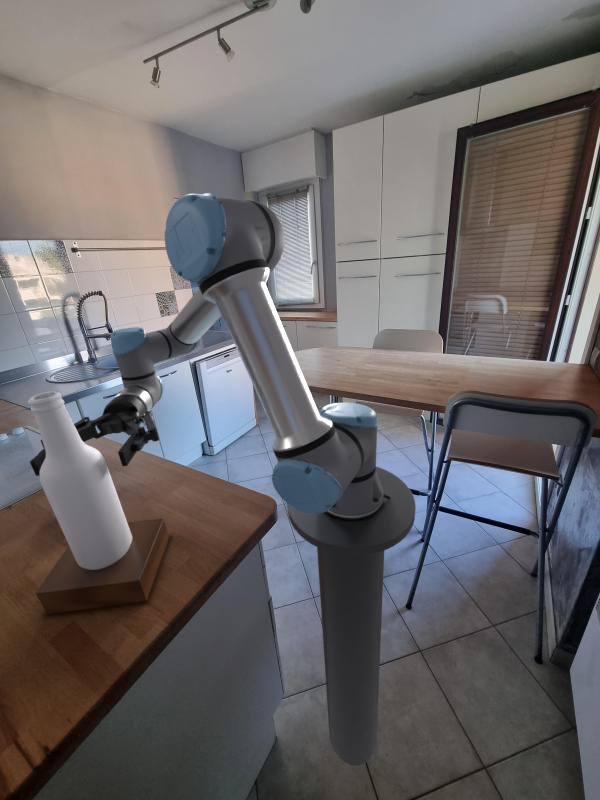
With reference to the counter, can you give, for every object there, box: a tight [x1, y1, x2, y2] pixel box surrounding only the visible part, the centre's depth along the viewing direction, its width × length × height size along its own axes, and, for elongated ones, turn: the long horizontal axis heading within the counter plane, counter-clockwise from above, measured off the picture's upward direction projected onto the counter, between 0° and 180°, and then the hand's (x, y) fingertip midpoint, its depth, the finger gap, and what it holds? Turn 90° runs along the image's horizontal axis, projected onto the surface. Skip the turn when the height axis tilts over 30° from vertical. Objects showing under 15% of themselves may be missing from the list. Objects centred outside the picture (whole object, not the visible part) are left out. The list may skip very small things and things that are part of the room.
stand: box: [35, 517, 170, 615], centre depth 60 cm, size 16×14×5 cm
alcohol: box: [27, 390, 132, 570], centre depth 53 cm, size 9×9×30 cm
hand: (79, 464), depth 54 cm, fingers open, 13 cm apart
